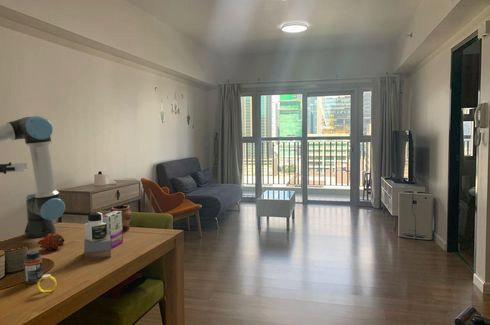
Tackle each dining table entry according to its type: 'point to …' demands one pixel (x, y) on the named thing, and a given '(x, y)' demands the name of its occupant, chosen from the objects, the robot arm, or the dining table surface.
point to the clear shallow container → (97, 255)
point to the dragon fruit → (51, 241)
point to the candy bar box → (114, 227)
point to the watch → (46, 278)
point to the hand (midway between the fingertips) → (25, 167)
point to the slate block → (97, 245)
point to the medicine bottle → (95, 227)
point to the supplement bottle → (33, 267)
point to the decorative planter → (124, 215)
